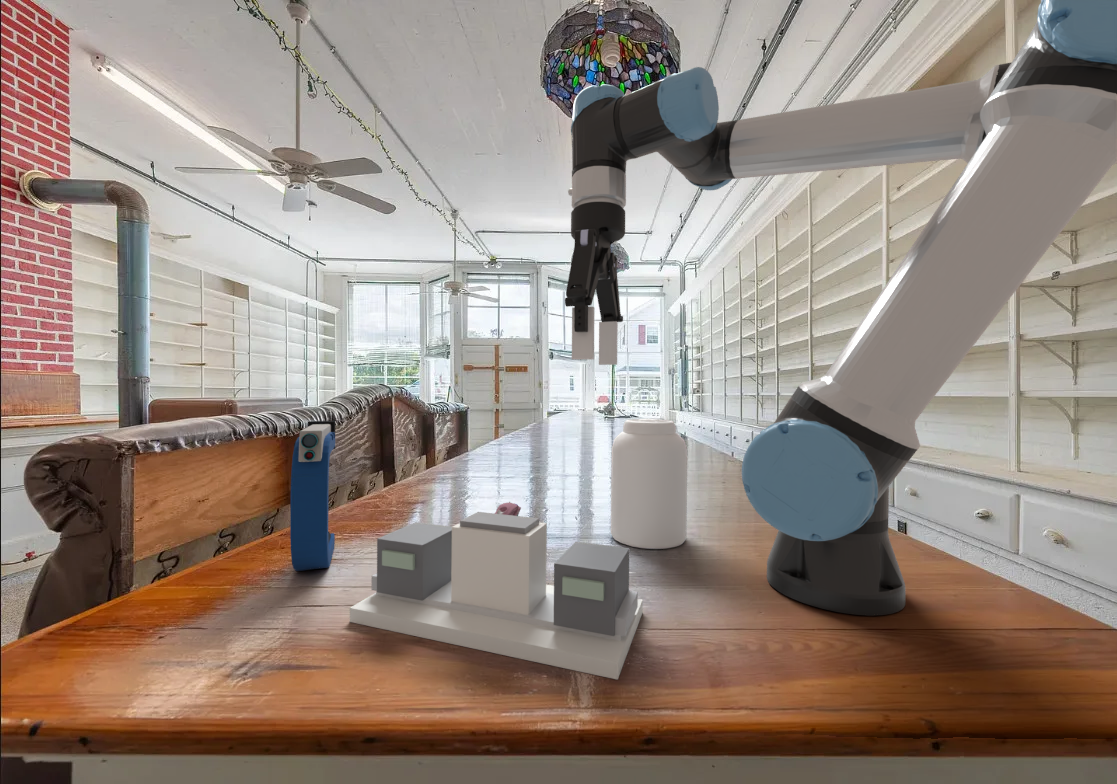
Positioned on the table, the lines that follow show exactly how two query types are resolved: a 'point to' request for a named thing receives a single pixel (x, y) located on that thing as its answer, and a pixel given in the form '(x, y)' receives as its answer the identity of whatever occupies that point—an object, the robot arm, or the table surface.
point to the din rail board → (542, 636)
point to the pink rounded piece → (508, 509)
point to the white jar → (649, 485)
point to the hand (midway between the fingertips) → (596, 362)
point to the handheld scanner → (311, 497)
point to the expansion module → (499, 562)
